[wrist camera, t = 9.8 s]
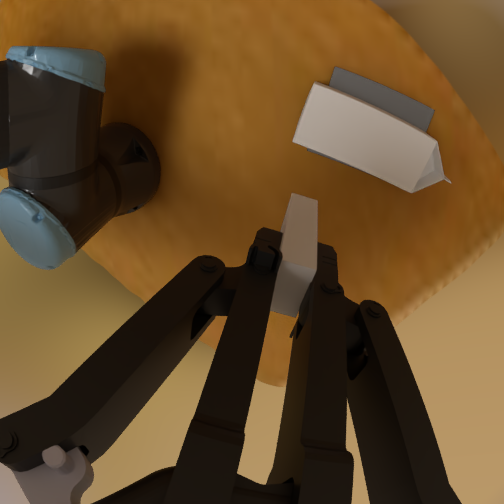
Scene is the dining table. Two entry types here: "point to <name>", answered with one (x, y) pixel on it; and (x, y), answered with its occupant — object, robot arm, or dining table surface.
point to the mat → (380, 100)
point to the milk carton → (368, 139)
